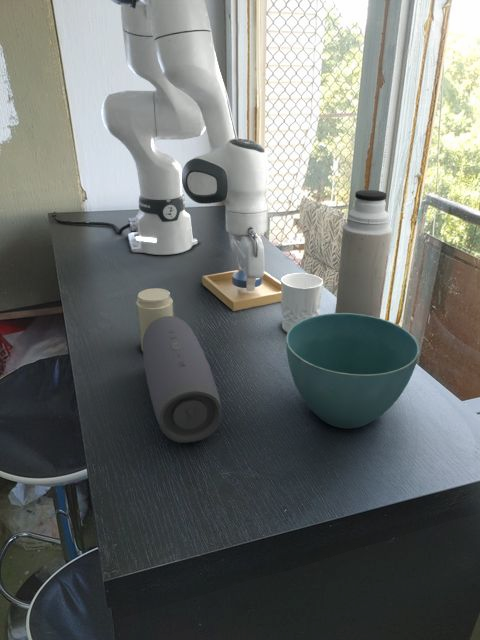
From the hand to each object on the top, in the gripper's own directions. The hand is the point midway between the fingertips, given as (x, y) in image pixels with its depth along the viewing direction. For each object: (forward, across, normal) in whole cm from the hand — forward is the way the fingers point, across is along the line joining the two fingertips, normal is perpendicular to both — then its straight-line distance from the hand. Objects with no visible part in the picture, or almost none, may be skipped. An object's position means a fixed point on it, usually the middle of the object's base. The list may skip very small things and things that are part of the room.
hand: (246, 283), depth 117 cm
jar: (+2, -22, +21) cm, 31 cm away
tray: (+2, 0, 0) cm, 2 cm away
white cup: (+2, -20, -7) cm, 21 cm away
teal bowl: (+2, -48, -5) cm, 49 cm away
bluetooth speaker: (+2, -41, +19) cm, 45 cm away
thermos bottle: (+2, -29, -14) cm, 33 cm away
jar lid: (-1, 0, 0) cm, 1 cm away
